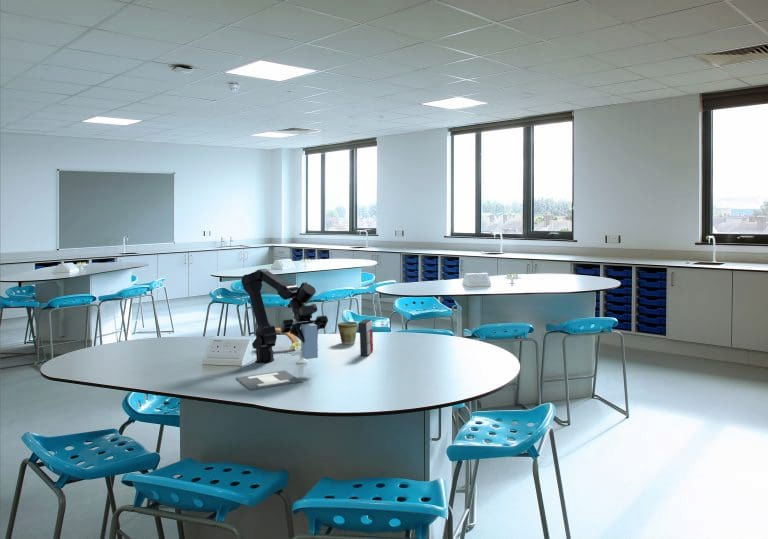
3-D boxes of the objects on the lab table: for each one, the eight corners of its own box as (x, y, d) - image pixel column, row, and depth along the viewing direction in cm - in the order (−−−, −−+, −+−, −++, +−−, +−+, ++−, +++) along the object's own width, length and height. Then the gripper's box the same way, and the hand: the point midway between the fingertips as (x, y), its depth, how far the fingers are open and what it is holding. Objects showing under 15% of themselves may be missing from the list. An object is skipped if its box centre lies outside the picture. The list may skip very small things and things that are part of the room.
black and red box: (368, 356, 268) (367, 323, 266) (359, 356, 268) (358, 323, 267) (373, 351, 278) (372, 319, 277) (364, 351, 279) (363, 319, 278)
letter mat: (250, 390, 217) (250, 389, 217) (235, 378, 235) (235, 377, 235) (302, 382, 227) (302, 380, 227) (284, 371, 244) (284, 370, 244)
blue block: (305, 359, 235) (305, 326, 234) (301, 356, 239) (300, 324, 238) (317, 357, 237) (317, 325, 236) (313, 355, 242) (312, 323, 241)
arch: (260, 347, 294) (260, 327, 294) (299, 348, 291) (298, 327, 290) (256, 350, 289) (255, 329, 288) (295, 350, 285) (294, 330, 284)
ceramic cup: (357, 344, 294) (357, 324, 293) (337, 345, 294) (336, 325, 293) (359, 339, 307) (358, 320, 306) (339, 340, 307) (339, 320, 306)
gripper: (281, 299, 236) (292, 331, 227) (325, 295, 245) (337, 326, 236) (276, 317, 243) (286, 348, 234) (318, 312, 252) (330, 342, 243)
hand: (310, 341), depth 237 cm, fingers closed on blue block, 5 cm apart
